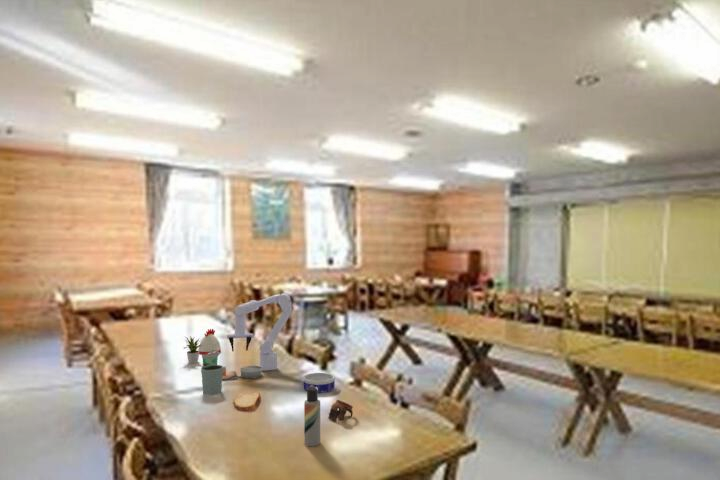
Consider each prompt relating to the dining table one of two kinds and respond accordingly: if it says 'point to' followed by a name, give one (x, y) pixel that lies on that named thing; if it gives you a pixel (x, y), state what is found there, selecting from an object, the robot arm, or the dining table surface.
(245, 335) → the robot arm
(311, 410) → the lotion bottle
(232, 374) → the lid
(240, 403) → the bread slice
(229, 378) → the mat
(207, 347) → the cream domed piece
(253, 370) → the bowl
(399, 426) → the dining table surface
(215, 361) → the food container
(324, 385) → the dog bowl
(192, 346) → the house plant
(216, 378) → the embossed green pot
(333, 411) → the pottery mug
